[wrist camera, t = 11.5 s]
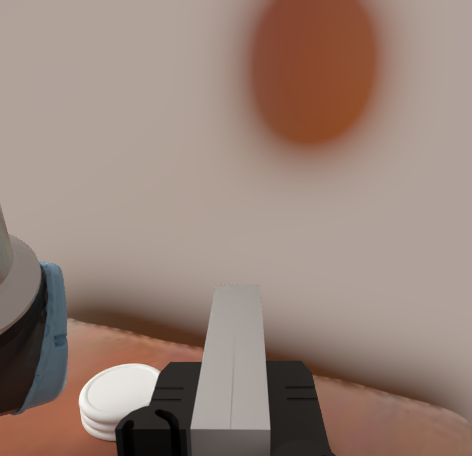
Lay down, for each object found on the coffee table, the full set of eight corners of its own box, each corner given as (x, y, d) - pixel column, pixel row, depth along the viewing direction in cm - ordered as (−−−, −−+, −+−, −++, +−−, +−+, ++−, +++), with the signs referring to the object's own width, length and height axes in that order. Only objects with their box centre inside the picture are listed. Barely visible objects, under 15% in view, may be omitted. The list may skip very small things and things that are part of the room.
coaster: (115, 378, 57) (112, 355, 56) (182, 393, 54) (181, 369, 53) (63, 431, 48) (58, 405, 47) (140, 453, 45) (137, 426, 44)
